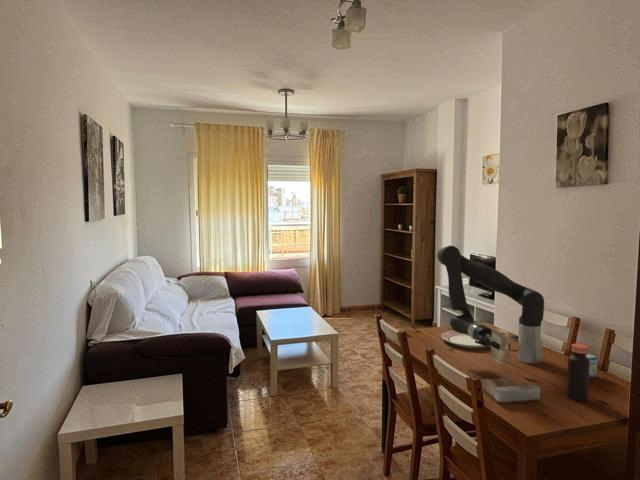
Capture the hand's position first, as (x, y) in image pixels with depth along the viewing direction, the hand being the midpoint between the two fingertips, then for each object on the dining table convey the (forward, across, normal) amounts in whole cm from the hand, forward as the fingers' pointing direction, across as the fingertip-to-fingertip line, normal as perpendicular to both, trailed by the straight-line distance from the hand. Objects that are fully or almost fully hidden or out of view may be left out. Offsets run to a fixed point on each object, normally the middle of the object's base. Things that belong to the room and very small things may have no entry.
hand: (503, 346), depth 156 cm
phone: (-55, +46, +19) cm, 74 cm away
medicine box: (-10, +44, +18) cm, 48 cm away
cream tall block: (-3, 0, +6) cm, 7 cm away
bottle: (+8, +25, +18) cm, 32 cm away
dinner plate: (-58, +16, +19) cm, 63 cm away
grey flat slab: (-1, +1, +18) cm, 18 cm away
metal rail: (+8, +1, +17) cm, 18 cm away
